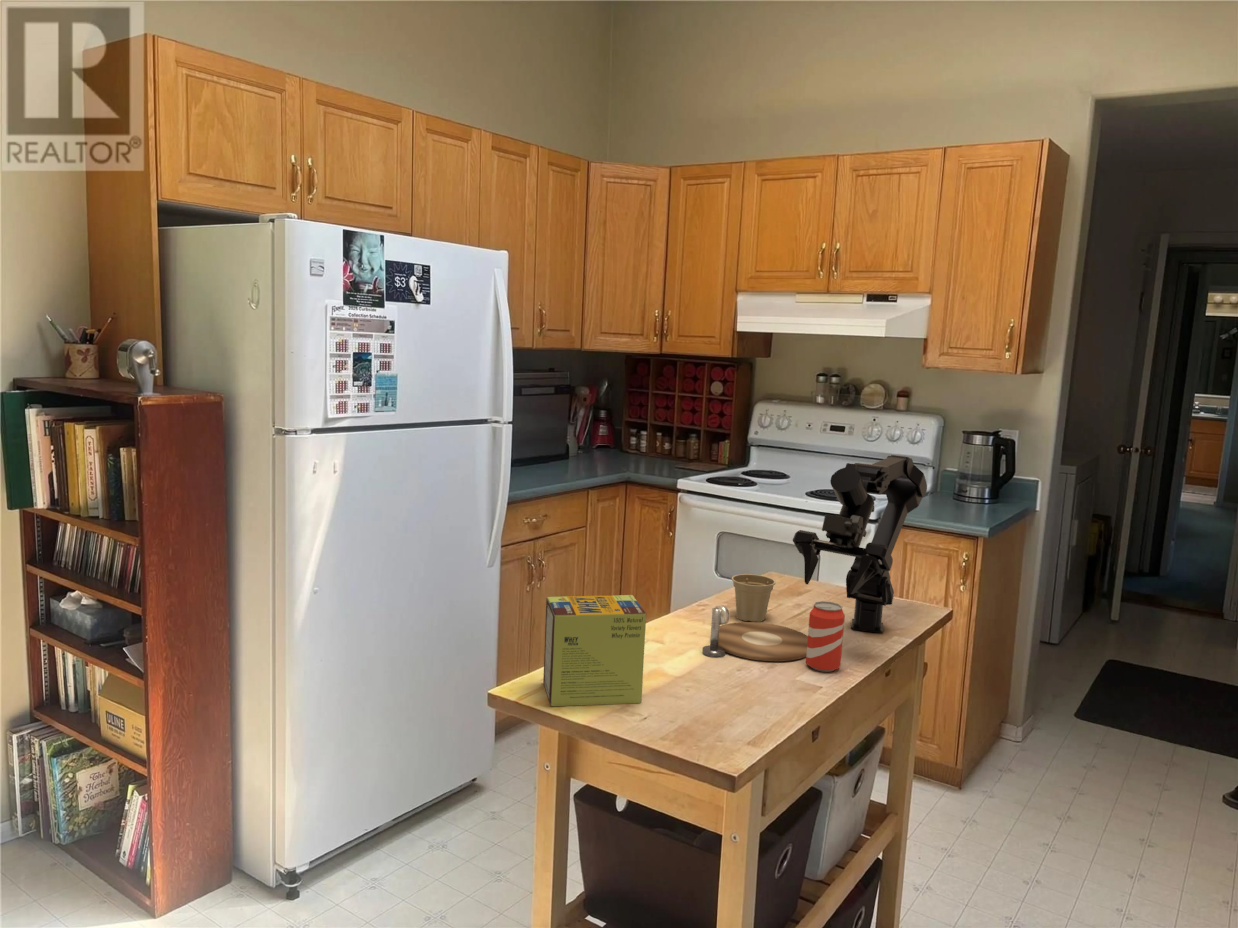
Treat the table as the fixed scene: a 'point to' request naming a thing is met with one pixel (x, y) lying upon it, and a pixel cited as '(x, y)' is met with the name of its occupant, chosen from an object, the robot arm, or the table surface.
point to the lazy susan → (762, 641)
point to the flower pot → (752, 596)
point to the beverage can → (825, 636)
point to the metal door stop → (716, 632)
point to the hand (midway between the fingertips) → (828, 588)
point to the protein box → (594, 650)
